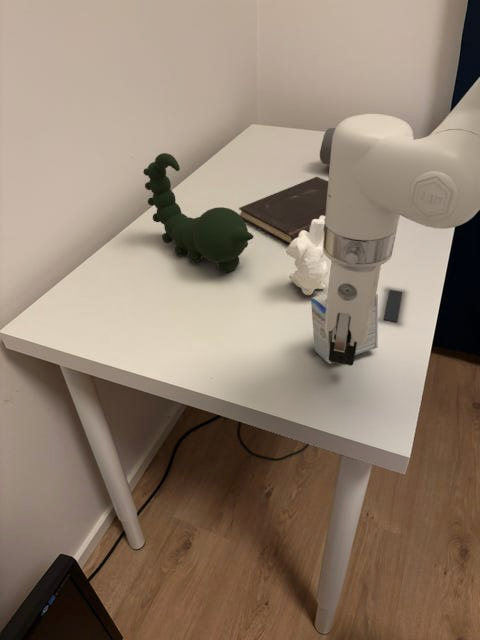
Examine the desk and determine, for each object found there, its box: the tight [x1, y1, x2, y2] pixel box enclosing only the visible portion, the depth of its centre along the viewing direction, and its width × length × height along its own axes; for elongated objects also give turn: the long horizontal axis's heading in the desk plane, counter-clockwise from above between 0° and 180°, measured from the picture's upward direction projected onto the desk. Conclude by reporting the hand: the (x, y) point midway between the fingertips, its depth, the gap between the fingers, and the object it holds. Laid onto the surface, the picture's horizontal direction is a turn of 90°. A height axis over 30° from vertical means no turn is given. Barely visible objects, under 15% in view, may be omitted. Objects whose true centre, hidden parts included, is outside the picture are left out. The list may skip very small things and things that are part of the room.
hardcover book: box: [238, 176, 329, 246], centre depth 102 cm, size 16×23×2 cm
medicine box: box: [310, 292, 379, 365], centre depth 67 cm, size 8×4×9 cm, turn 112°
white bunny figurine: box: [285, 215, 329, 296], centre depth 78 cm, size 8×7×12 cm
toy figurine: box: [142, 152, 255, 273], centre depth 85 cm, size 9×19×25 cm
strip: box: [383, 289, 403, 323], centre depth 77 cm, size 2×8×1 cm, turn 160°
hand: (341, 359), depth 64 cm, fingers closed
